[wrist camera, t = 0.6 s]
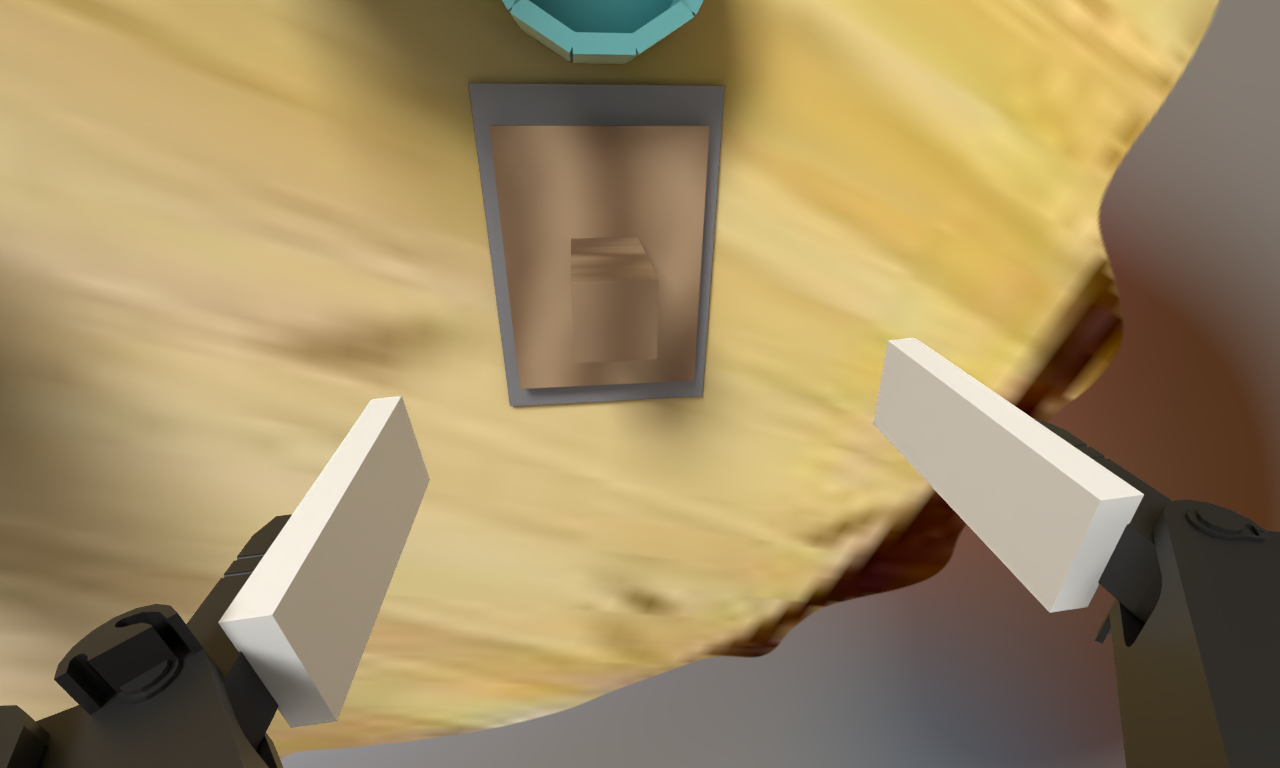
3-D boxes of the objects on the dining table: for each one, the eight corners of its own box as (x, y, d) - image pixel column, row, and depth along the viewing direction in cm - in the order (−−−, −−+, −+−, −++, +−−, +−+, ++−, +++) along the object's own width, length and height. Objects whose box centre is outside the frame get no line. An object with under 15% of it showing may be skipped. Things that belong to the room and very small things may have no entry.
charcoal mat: (510, 403, 38) (510, 406, 37) (469, 83, 28) (468, 83, 28) (701, 393, 39) (702, 396, 39) (722, 85, 30) (724, 85, 29)
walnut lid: (521, 380, 36) (505, 467, 28) (492, 125, 29) (456, 133, 20) (690, 372, 38) (726, 454, 29) (704, 125, 30) (758, 134, 21)
